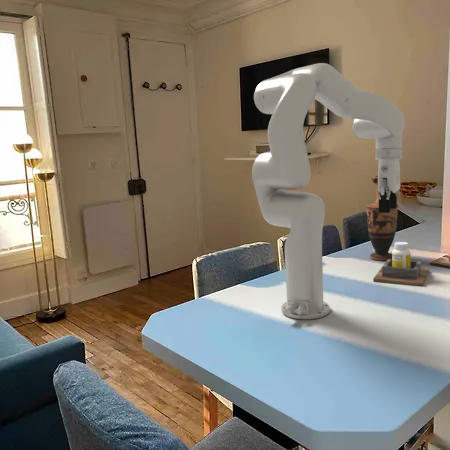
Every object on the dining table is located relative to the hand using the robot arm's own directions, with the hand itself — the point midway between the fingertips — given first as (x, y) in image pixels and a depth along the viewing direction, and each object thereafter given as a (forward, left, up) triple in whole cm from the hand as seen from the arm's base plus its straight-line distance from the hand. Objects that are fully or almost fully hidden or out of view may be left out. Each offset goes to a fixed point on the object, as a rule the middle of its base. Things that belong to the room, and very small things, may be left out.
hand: (387, 210), depth 137 cm
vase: (+22, +6, -22) cm, 31 cm away
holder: (+2, -4, -21) cm, 22 cm away
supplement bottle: (+1, -4, -21) cm, 21 cm away
